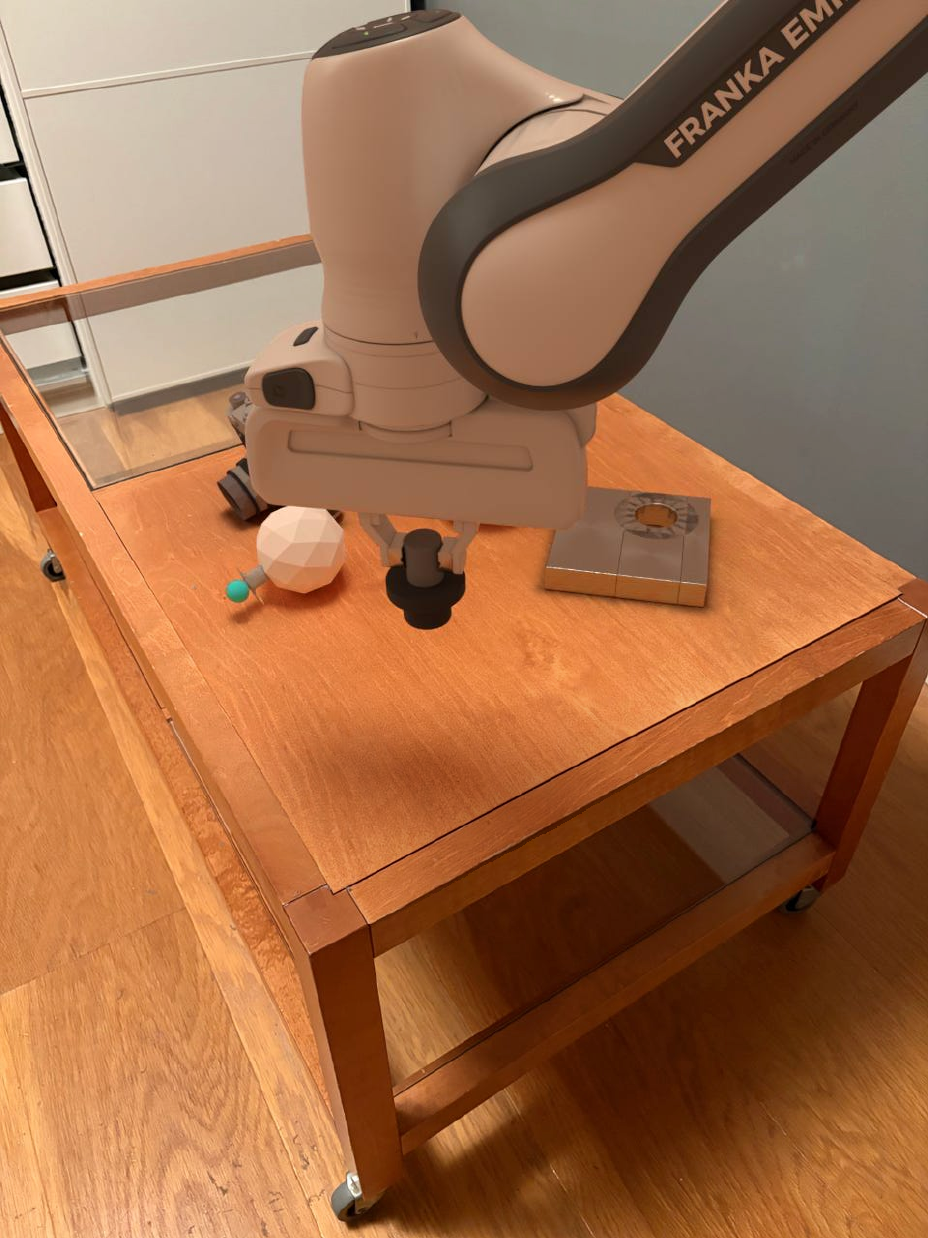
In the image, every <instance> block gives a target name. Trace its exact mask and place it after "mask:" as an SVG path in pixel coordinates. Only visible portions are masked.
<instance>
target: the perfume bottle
mask: <svg viewBox="0 0 928 1238" xmlns="http://www.w3.org/2000/svg"><path fill="white" fill-rule="evenodd" d="M345 543H346V542H345V530H344V529H343V528H342V527H341V525H340V524H339V523H338V522H337V520H336V519H334V518H333V517H332V516H331V515H330V514H329V512H328V511H327V510H326V509H318V508H307V507H296V506H283V507H281V508H279V509H277V510H275V511H273V512H270V514H269V515H268V516H267V517H266V518H265V520H263V521H262V523H261V524H260V527H259V530H258V532H257V534H256V554H257V555H256V556H257V566H255V567H253V568H252V569H251V570H250V571H248V572H247V573H246V574H245V573H244V572H242V571H241V570H240V569H239V567H236V570H237V571H238V574H239V575H240V577H241V578H242V580H241V579H233V580H231V581H229V582H228V583H227V585H226V588H225V593H226V596H227V598H228V599H229V601H231V602H233V603H237V604H241V603H244V602H245V601H246V600H247V599H248V598H249V596H250V591H251V592H252V594H253V595H254V596H255V598H256V599H257V600H258V601H260V603H261V604H262V605H265V603H264V601H263V600H262V598H261V597H260V596H258V594H257V589H258V588H260V587H261V586H263V585H264V584H266V583H267V582H269V581H271V582H272V583H273V584H274V586H275V587H276V588H279V589H283V590H286V591H287V590H288V591H290V592H291V591H292V592H295V593H299V594H307V593H310V592H313V591H314V590H317V589H319V588H322V587H324V586H328V585H329V584H331V583H332V582H333V580H334V579H335V577H336V576H337V575H338V573H339V572H340V570H341V568H342V566H343V564H344V563H345V561H346V558H347V555H346V544H345Z"/></svg>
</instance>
